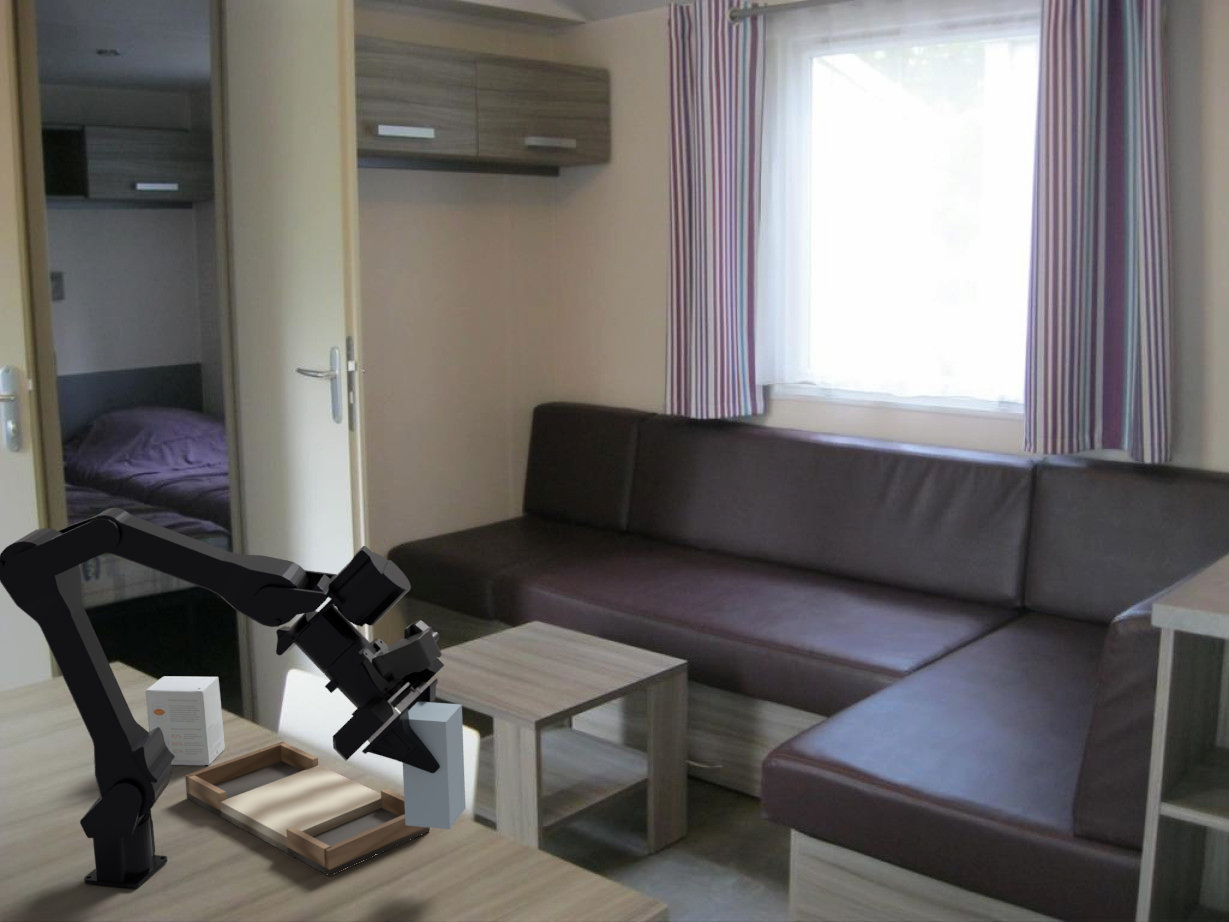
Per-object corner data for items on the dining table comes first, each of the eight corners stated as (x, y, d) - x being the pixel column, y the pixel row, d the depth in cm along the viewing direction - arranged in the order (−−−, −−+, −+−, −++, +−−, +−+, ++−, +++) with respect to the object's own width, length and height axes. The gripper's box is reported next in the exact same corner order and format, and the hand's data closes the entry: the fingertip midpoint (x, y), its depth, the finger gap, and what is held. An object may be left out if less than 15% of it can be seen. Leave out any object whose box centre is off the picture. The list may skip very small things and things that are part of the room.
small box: (225, 749, 177) (220, 676, 175) (209, 767, 171) (203, 690, 169) (169, 748, 177) (163, 674, 176) (150, 765, 172) (144, 689, 170)
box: (429, 831, 152) (428, 807, 151) (329, 876, 142) (328, 851, 141) (283, 763, 172) (282, 741, 171) (186, 798, 162) (185, 775, 161)
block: (450, 829, 138) (445, 721, 135) (405, 825, 139) (400, 718, 137) (465, 808, 142) (461, 704, 140) (422, 804, 143) (417, 701, 141)
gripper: (355, 633, 128) (466, 748, 128) (423, 582, 146) (520, 682, 146) (286, 704, 131) (394, 816, 131) (361, 645, 149) (456, 743, 149)
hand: (445, 760), depth 139 cm, fingers closed on block, 5 cm apart
